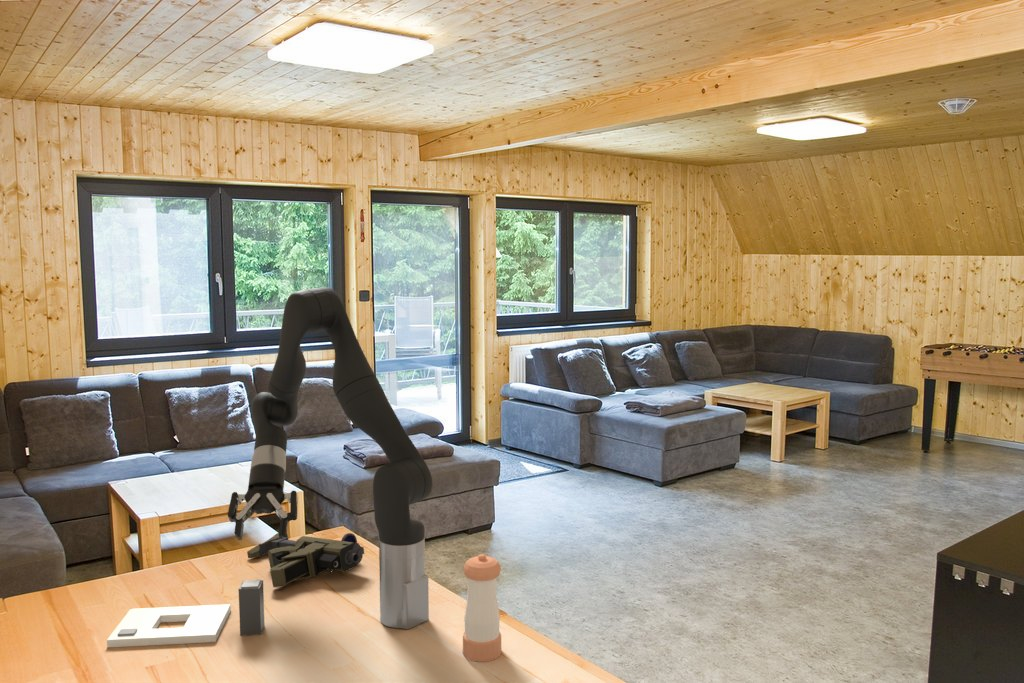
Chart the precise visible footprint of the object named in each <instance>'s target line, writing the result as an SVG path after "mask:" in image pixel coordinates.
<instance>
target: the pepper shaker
mask: <svg viewBox="0 0 1024 683" xmlns="http://www.w3.org/2000/svg"><path fill="white" fill-rule="evenodd" d="M463 565H464V566H463V569H462V571H463V574H464V575H465V577H466V579H467V587H466V588H467V593H466V594H467V599H466V605H465V610H464V612H465V613H464V620H463V622H464V632H463V634H462V654H463V657H465V658H466V659H467V660H469V661H473V662H480V663H481V662H484V663H485V662H491V661H493V660H496V659H497V658H499V657H500V656H501V655H502V634H501V632H500V622H501V621H500V620H501V618H500V617H501V616H500V610H499V603H498V598H497V595H498V594H497V593H498V592H497V590H498V589H497V584H498V583H497V578H498V577H499V575H500V573H501V570H502V568H501V564H500V563H499V561H498V560H497V559H496V558H494V557H491V556H487V555H486V554H483V553H481V554H478V555H477V556H473V557H470V558H469V559H467V560H466V562H465V563H464V564H463Z"/></svg>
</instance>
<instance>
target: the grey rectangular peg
mask: <svg viewBox="0 0 1024 683" xmlns="http://www.w3.org/2000/svg"><path fill="white" fill-rule="evenodd" d="M264 596H265V595H264V580H261V579H249V580H242V582H241V583H240V586H239V588H238V610H239V636H256V635H257V636H258V635H259V636H261V635H262V634H263V631H264V628H265V603H264V602H265V599H264Z"/></svg>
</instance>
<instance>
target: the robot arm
mask: <svg viewBox="0 0 1024 683" xmlns="http://www.w3.org/2000/svg"><path fill="white" fill-rule="evenodd" d="M348 316H349V315H348V313H347V311H346V309H345V306H344V304H343V301H342V300H341V297H340V296H339V295H338V293H337V292H336V291H335V290H334V289H333V288H331V287H329V286H321V287H315V288H306V289H301V290H300V289H299V290H297V291H294V292H292V293H291V294H290V295H289V296H288V298H287V300H286V302H285V306H284V310H283V316H282V322H281V327H280V328H281V329H280V337H279V344H278V350H277V356H276V360H275V363H274V366H273V368H272V370H271V371H272V372H271V373H270V376H269V379H268V383H267V389H268V392H267V391H262V392H258V393H257V394H256V395H255V396H254V397H253V399H252V400H251V417H252V420H253V425H254V431H255V440H254V449H253V454H252V458H251V463H250V470H249V478H248V485H247V492H246V493H244V494H242V493H241V494H239V493H238V492H237V491H233V492H232V493H231V495H230V501H229V506H228V511H227V517H228V519H229V520H228V521H229V522H230V523H235V526H234V535H235V539H236V538H237V541H243V536H244V528H245V524H244V523H245V522H246V521H247V520H248V519H249V518H251V517H252V516H253V515H254V514H256V515H261V514H268V515H269V514H272V513H273V512H274V513H275V514H276V515H277V516H278V518H279V528H278V529H279V530H278V533H279V538H280V539H283V536H286V534H287V535H288V525H289V522H290V521H291V522H292V521H296V520H298V503H299V502H298V494H297V491H296V490H291V492H286V493H285V492H284V489H285V488H284V487H285V477H286V471H287V467H286V466H287V456H286V455H287V448H288V447H287V446H288V434H287V433H288V432H287V431H286V430H284V428H283V427H286V426H290V425H292V424H293V423H294V422H295V421H296V419H297V417H298V412H299V411H298V408H299V406H298V396H299V391H300V389H301V385H302V382H303V380H304V378H305V375H306V370H307V362H306V358H305V356H304V353H303V351H302V348H301V343H302V341H303V339H304V337H305V335H306V334H308V333H309V334H310V333H315V332H319V331H325V332H326V334H327V335H328V337H329V339H330V341H331V343H332V346H333V350H334V362H333V363H334V364H333V371H332V373H333V374H332V388H333V392H334V395H335V397H336V399H337V400H338V402H339V405H340V407H341V408H342V411H343V412H344V414H345V416H346V417H347V419H348V420H349V421H350V422H352V423H353V425H355V427H357V428H358V429H359V430H360V431H361V432H363V433H364V434H366V435H367V436H369V438H371V439H372V440H374V442H375V443H376V444H377V445H378V446H379V447H380V449H381V450H382V451H383V452H384V454H385V456H386V458H387V460H388V462H389V463H385V464H383V465H381V466H379V468H377V470H376V471H375V473H374V475H373V476H374V477H373V480H372V498H373V511H374V512H373V513H374V523H375V525H376V529H377V531H378V543H379V544H378V545H379V546H378V548H379V550H378V553H379V554H378V556H379V560H378V562H379V614H380V616H379V618H380V619H379V620H380V622H381V623H382V624H383V625H384V626H386V627H389V628H392V629H394V628H395V629H404V630H410V629H412V628H414V627H415V626H419V625H420V624H422V623H425V622H427V621H429V620H430V619H429V617H430V616H429V614H430V613H429V612H430V610H429V609H430V608H429V606H430V604H429V603H430V602H429V590H430V588H429V575H427V574H426V572H425V571H426V562H425V560H426V559H425V556H426V555H425V554H426V553H425V551H426V550H425V547H426V546H425V542H426V540H425V537H426V536H425V531H426V530H425V525H424V523H423V522H422V521H421V520H419V519H416V518H413V517H412V518H411V514H410V513H411V512H410V511H411V510H410V505H412V504H415V503H418V502H420V501H422V500H423V501H424V499H426V498H428V497H429V496H430V494H431V493H432V489H433V477H432V474H431V471H430V468H429V466H428V465H427V463H426V461H425V459H424V458H423V457H422V455H421V453H420V452H419V450H418V448H417V447H416V446H415V444H414V442H413V441H412V440H411V438H410V437H409V436H410V435H408V433H407V432H406V430H405V428H404V426H403V425H402V423H401V421H400V420H399V418H398V416H397V414H396V413H395V411H394V409H393V407H392V405H391V403H390V402H389V399H388V397H387V396H386V393H385V391H384V388H383V387H382V385H381V383H380V381H379V379H378V377H377V375H376V374H375V372H374V370H373V369H372V367H371V365H370V363H369V361H368V359H367V357H366V355H365V353H364V350H363V349H362V347H361V345H360V343H359V341H358V338H357V336H356V334H355V331H354V329H353V326H352V324H351V321H350V318H349V317H348ZM281 426H283V427H281ZM285 500H286V501H287V502H288V503H289V504H290V506H289V507H290V508H289V509H290V511H289V512H286V511H285V510H284V508H283V507H282V504H283V502H284V501H285ZM243 501H245V503H246V504H245V505H244V506H243V507H242V509H241V511H240V512H238V508H239V505H241V504H242V503H243Z"/></svg>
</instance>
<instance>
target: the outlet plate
mask: <svg viewBox="0 0 1024 683" xmlns="http://www.w3.org/2000/svg"><path fill="white" fill-rule="evenodd" d="M231 609H232V607H231V603H227V604H226V603H225V604H205V605H204V604H201V605H187V606H186V605H182V606H161V607H142V608H141V607H139V608H138V607H137V608H130V609H129V610H128V612H127V613H126V615H125V616H124V617H123V618H122V619H121V621H120V622H119V624H118V625H117V626H116V627H115V629H114V630H113V631H112V633H111V634H110V635H109V636H108V638H107V639H106V648H107V647H108V648H124V647H143V646H147V647H148V646H164V645H185V644H201V643H216V642H217V640H218V638H219V636H220V633H221V632H222V630H223V628H224V626H225V624H226V622H227V620H228V618H229V615H230V613H231V611H232V610H231ZM174 622H175V623H178V622H185V624H184V626H181V627H159V626H160V625H161V623H174ZM158 627H159V628H158Z"/></svg>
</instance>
